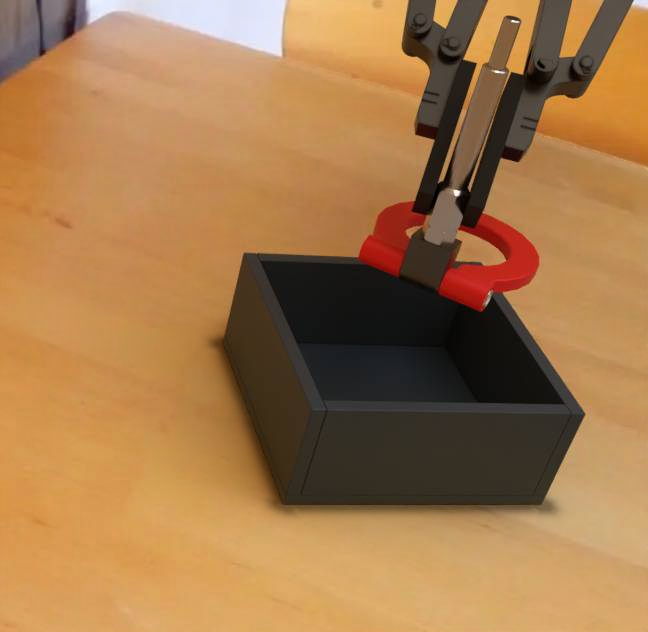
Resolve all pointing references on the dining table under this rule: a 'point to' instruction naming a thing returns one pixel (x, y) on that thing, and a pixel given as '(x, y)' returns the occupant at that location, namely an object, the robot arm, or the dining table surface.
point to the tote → (392, 388)
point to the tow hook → (457, 212)
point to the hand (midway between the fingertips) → (447, 209)
